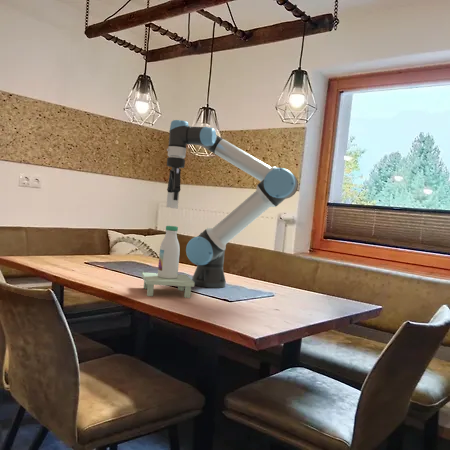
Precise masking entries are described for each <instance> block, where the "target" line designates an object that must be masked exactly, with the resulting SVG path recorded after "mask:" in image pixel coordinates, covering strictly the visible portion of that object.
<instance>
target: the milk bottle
mask: <svg viewBox="0 0 450 450" xmlns="http://www.w3.org/2000/svg"><path fill="white" fill-rule="evenodd" d="M178 228H179V227H178V226H175V225H166V226H165V235H164V237H163V239H162V241H161V243H160V248H159V254H158V255H159V257H158V264H157V265H158V267H157V273H158V277H160V278H167V279H175V278H177V276H178V274H179V267H180V266H179V265H180V263H179V262H180V252H181V251H180V249H181V248H180V242H179V239H178V235H177V234H178V230H179V229H178Z"/></svg>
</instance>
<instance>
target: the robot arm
mask: <svg viewBox="0 0 450 450" xmlns="http://www.w3.org/2000/svg"><path fill="white" fill-rule="evenodd" d="M169 127H170V128H169V137H168V147H167V148H166V151H167V158H166V160H167V161H166V166H167V167H169V168H171V169H170V170H169V177H168V182H167V183H168V184H167V189H166V190H167V196H166V208H170V209H178V208H179V199H180V191H181V171H182V169H184V168H185V164H186V160H185V158H186V154H187V145H190V146H191V145H193V146H194V145H195V146H200V147H202V148H204V149H206V150H207V151H209V152H210V153H212V154H215V156H218V157H219V158H221V159H222V160H223V161H225V162H228V163H229V164H230V165H233V166H234V167H236V168H237V169H240V170H241V171H243V172H244V173H246V174H248V175H249V176H250V177H252V178H255V179H256V180H257V181H259V183H257V185H256V190H255V192H253V193H252V194H251V195H250V196H248V197H247V198H246V199H245V200H244V201H243V202H241V203H240V204H239V205H238V206H236V207H235V209H233V210H232V211H231V212H229V214H227V215H226V216H225V217H224V218H223V219H221V221H219V222H218V223H217V224H216V225H214V227H207V228H205V230H203V231H201V232H200V234H199V235H197V236H194V237H192V238H191V239H190V240H189V241H188V242H187V244H186V248H185V252H186V256H187V259H188V260H189V261H190V262H191V263H192V264H194V265H196V269H195V271H194V273H193V274H192V278H191V280H192V281H193V282H194V283H195V285H194V286H198V287H203V288H212V289H213V288H214V289H219V288H225V287H226V284H227V283H226V277H225V272H224V271H225V270H224V262H225V252H226V249H227V248H226V247H227V244H228V243H229V242H230V241H231V240H233V239H234V238H235V237H236V236H237V235H239V234H240V233H241V232H242V231H243V230H245V229H246V228H247V227H248V226H249V225H251V224H252V223H253V222H254V221H255V220H257V219H258V218H259V217H261V215H262V214H263V213H265V212H266V211H267V210H269V208H277V207H278V206H279V205H280V204H281V203H282V202H283V201H285V200H287V199H290V198H292V197H293V196H294V195H295V194H297V191H298V188H299V181H298V178H297V176H296V175H295V174H294V173H292V172H291V170H289V169H287V168H284V167H277V166H270V165H269V164H267V163H265V162H263V160H260V159H258V158H257V157H255V156H253V155H251V154H250V153H248V152H247V151H245V150H243V149H242V148H239V147H237V146H236V145H235V144H233V143H231V142H229V141H227V140H226V139H225V138H223V137H221V136H219V135H217V132H216V130H215V128H213V127H209V126H190V125H189V122H188V121H187V120H186V121H185V120H180V119H175V120H174V119H173V120H172V121H171V122H170V126H169Z"/></svg>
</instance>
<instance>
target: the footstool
mask: <svg viewBox="0 0 450 450" xmlns="http://www.w3.org/2000/svg"><path fill="white" fill-rule="evenodd" d="M141 277H142V279H143V289H145V290H147V291H146V296H147V297H154V288H155V287H154V286H170V287H171V286H173V287H174V286H175V287H177V290H178V291H183V292H184V294H183V297H184V298H185V299H186V298H189V299H190V298H191V292H192V288H193V287H194V288H195V286H196V285H195V283H194V282H193V281H192V278H190V277H189V276H188V275H187V274H181V273H180V274H179V273H178V276H177V278H175V279H167V278H160V277H158V272H157V273H156V272H141Z"/></svg>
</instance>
